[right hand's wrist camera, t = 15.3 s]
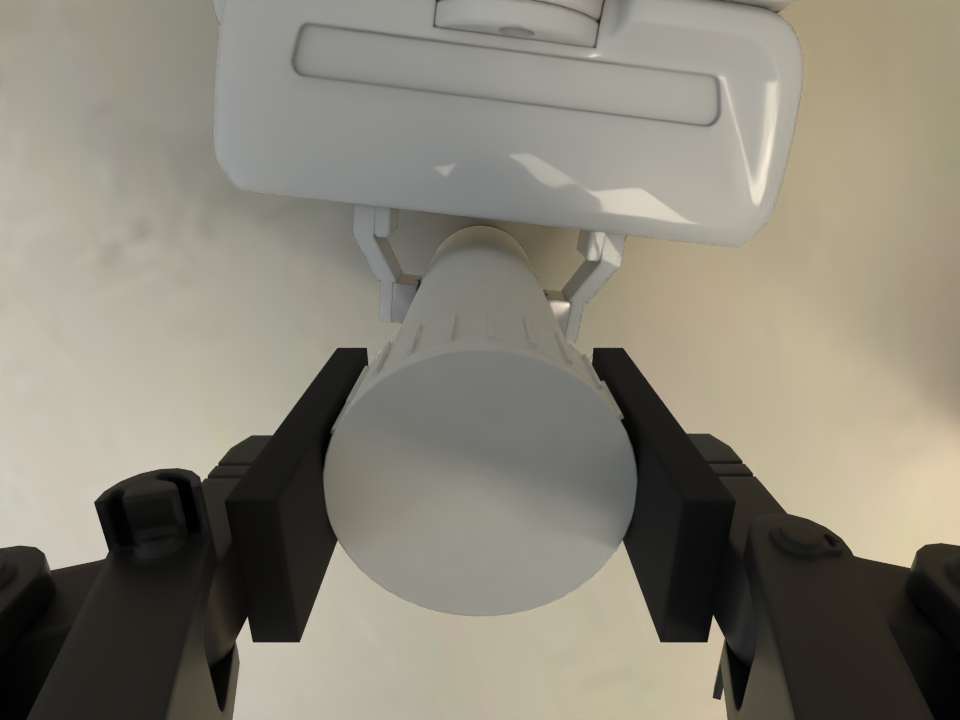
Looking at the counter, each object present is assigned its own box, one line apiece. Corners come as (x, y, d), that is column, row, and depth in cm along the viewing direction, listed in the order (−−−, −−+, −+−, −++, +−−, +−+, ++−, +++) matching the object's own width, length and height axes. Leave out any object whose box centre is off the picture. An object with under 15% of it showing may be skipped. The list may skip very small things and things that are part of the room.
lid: (434, 252, 11) (422, 276, 8) (670, 401, 12) (710, 454, 10) (300, 472, 12) (263, 536, 10) (516, 583, 14) (523, 660, 11)
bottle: (464, 204, 27) (432, 300, 9) (550, 261, 28) (673, 447, 10) (411, 292, 28) (297, 517, 11) (494, 343, 29) (516, 625, 12)
